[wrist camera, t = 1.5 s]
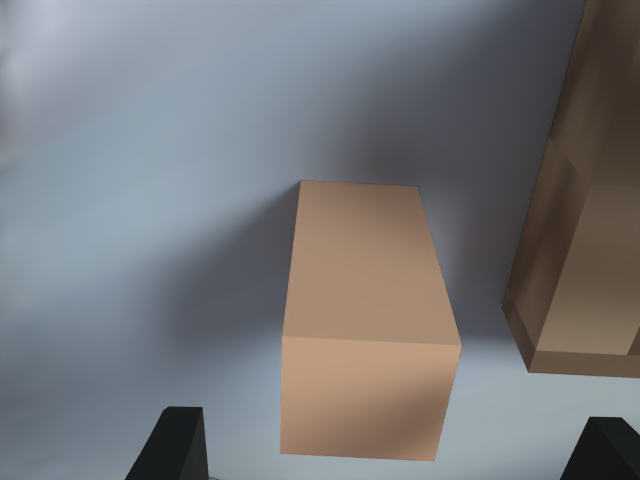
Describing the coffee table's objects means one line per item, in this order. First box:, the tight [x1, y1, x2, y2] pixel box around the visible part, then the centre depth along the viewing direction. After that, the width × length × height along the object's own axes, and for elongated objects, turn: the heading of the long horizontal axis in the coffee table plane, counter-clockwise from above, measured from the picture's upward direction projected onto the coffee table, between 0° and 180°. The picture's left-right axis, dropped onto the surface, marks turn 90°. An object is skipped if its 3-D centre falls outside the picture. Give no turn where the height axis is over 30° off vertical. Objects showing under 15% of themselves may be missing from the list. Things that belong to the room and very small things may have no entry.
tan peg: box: [280, 180, 462, 461], centre depth 17 cm, size 4×4×8 cm
